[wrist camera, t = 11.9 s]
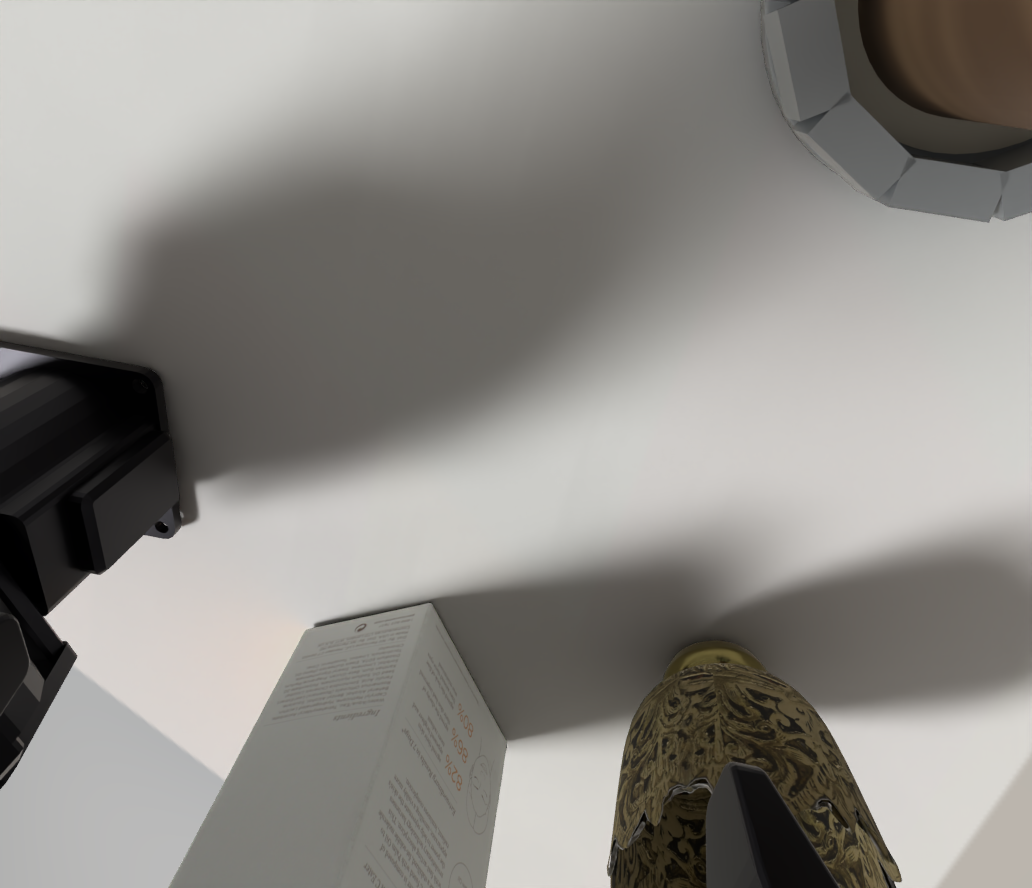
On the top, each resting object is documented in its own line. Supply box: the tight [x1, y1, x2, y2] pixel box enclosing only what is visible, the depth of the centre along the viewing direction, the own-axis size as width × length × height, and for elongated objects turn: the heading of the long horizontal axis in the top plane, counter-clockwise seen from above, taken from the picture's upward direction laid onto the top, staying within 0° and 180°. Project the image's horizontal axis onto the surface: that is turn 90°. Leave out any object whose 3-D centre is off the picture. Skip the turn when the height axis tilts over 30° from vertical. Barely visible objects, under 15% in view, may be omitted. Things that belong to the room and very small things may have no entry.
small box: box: [169, 603, 507, 888], centre depth 23 cm, size 8×6×10 cm
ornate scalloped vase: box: [607, 640, 902, 888], centre depth 21 cm, size 8×7×8 cm
